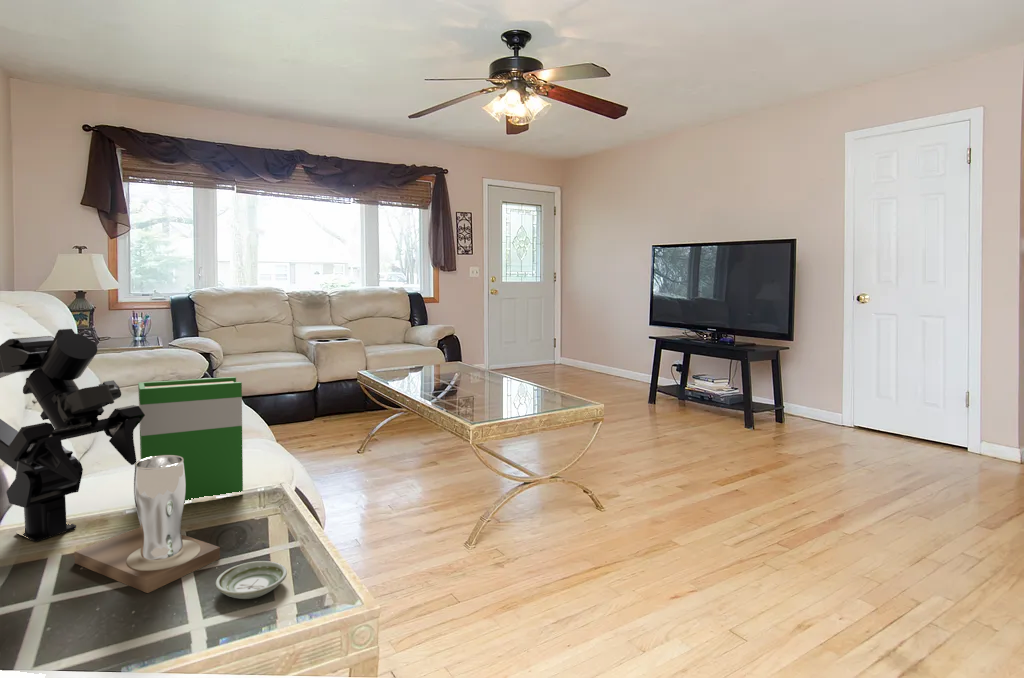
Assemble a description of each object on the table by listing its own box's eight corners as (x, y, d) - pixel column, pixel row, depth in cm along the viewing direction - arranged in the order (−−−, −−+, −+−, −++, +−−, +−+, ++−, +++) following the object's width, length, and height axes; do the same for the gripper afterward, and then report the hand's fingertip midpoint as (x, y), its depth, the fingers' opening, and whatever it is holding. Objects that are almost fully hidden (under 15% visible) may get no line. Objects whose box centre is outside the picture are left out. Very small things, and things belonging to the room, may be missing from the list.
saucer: (293, 573, 93) (292, 558, 93) (278, 607, 83) (278, 591, 83) (228, 575, 91) (227, 561, 91) (205, 610, 82) (205, 594, 82)
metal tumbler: (148, 569, 88) (145, 472, 86) (128, 554, 92) (124, 461, 90) (195, 552, 93) (193, 460, 92) (174, 539, 97) (172, 451, 96)
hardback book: (236, 484, 129) (235, 376, 126) (242, 495, 123) (241, 382, 120) (141, 499, 119) (138, 382, 117) (143, 512, 113) (139, 389, 110)
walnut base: (74, 563, 93) (74, 549, 93) (149, 534, 104) (149, 522, 104) (147, 593, 85) (147, 578, 85) (220, 558, 96) (219, 545, 96)
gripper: (15, 375, 87) (67, 458, 85) (136, 360, 105) (182, 428, 102) (-14, 420, 91) (35, 501, 88) (107, 398, 108) (151, 466, 106)
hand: (107, 471), depth 96 cm, fingers open, 9 cm apart
